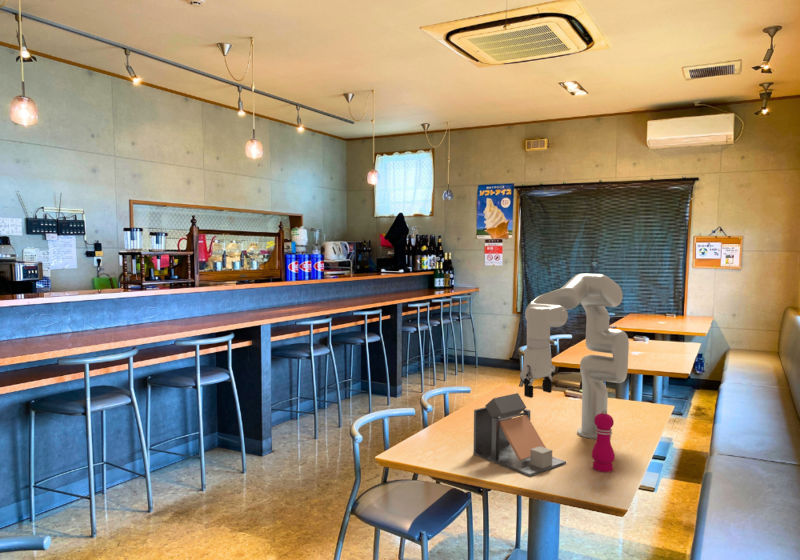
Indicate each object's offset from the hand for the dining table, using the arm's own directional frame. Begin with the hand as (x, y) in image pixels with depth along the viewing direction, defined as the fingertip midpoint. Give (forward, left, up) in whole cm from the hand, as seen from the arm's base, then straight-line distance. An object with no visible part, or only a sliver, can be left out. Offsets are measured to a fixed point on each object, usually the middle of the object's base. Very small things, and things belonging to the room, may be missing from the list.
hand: (538, 394), depth 188 cm
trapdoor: (+1, -10, -15) cm, 18 cm away
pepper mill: (-15, +15, -24) cm, 32 cm away
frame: (+1, -7, -24) cm, 25 cm away
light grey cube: (0, 0, -21) cm, 21 cm away
